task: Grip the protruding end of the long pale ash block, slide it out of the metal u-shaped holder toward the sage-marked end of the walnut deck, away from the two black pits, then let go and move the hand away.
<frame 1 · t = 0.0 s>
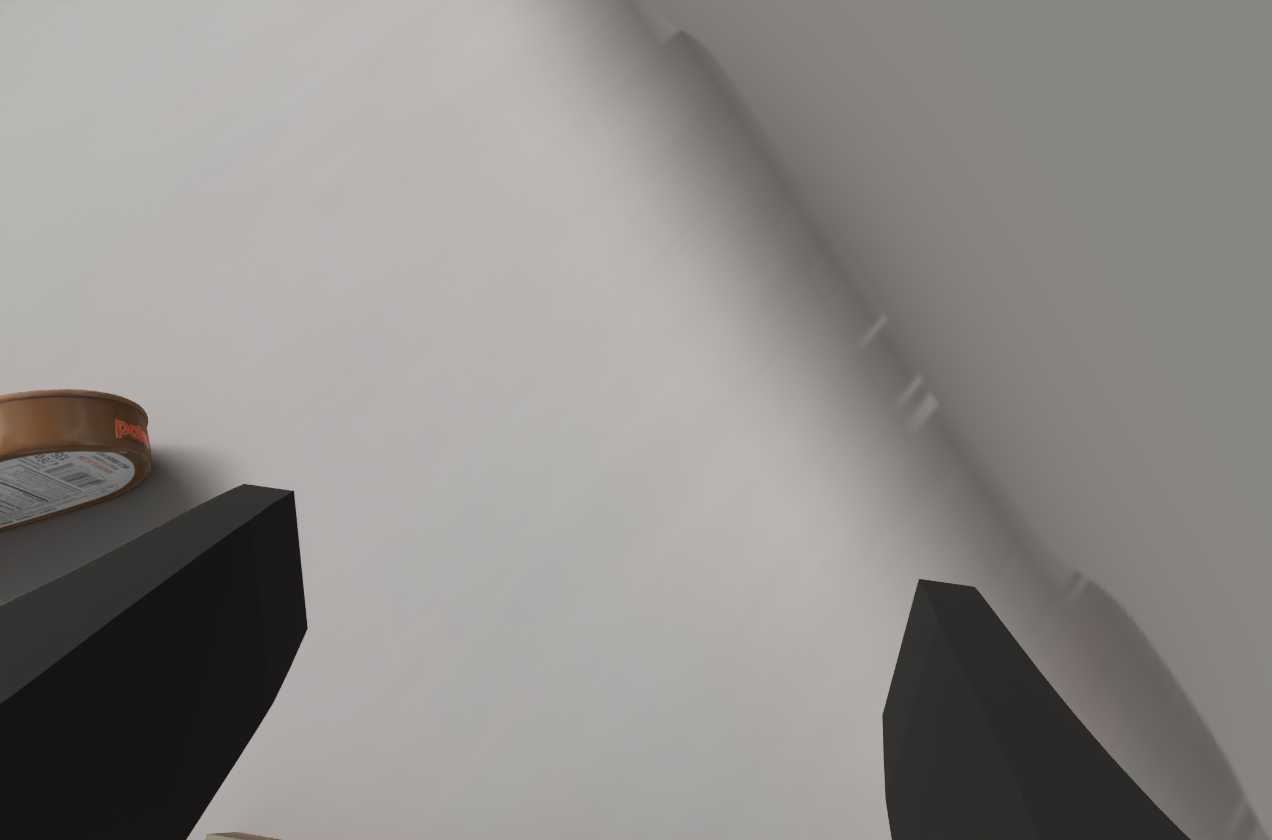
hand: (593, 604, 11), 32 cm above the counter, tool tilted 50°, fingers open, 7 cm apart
tin: (25, 507, 46), on the counter
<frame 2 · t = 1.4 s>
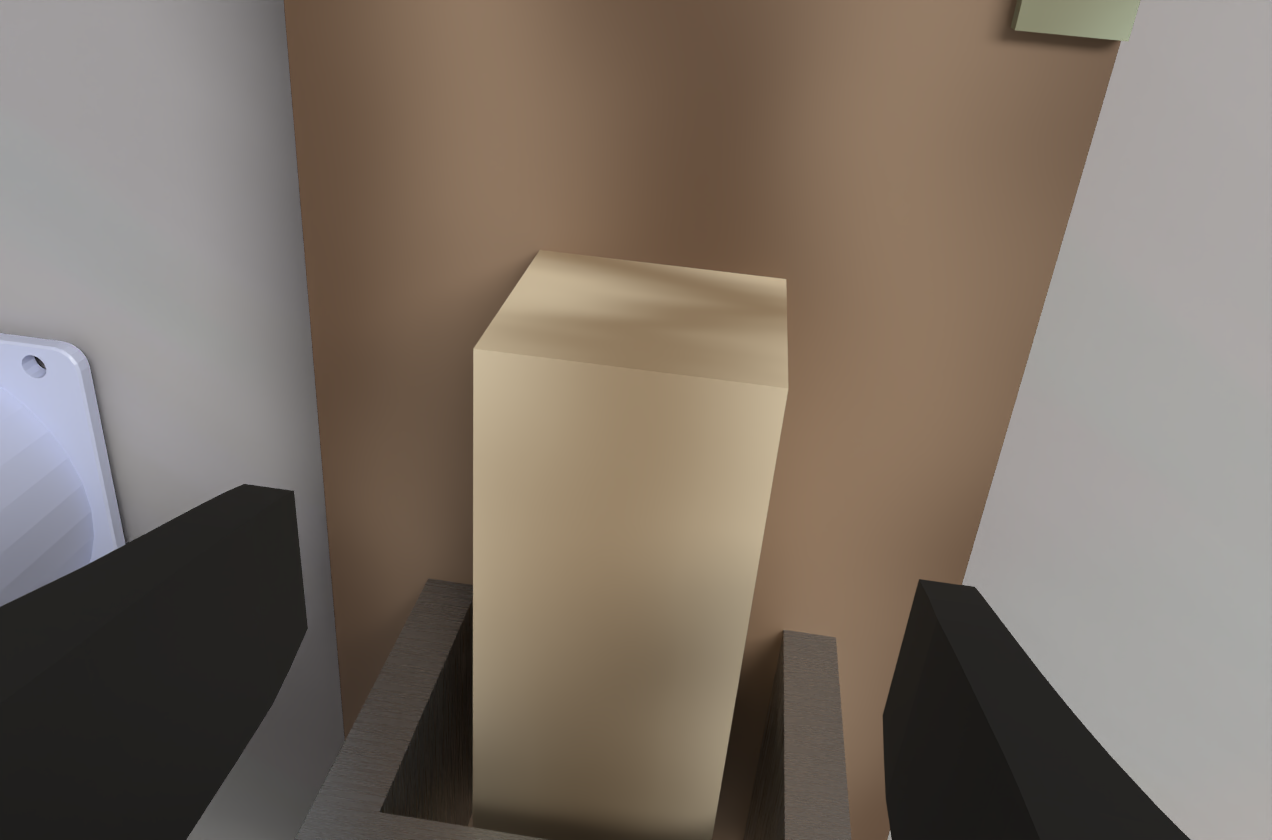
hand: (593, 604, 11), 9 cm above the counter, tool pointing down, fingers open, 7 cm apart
walnut deck: (640, 572, 22), on the counter
ash block: (625, 647, 20), point 2 cm above the counter, touching walnut deck
metal u-shaped holder: (633, 641, 23), resting on walnut deck
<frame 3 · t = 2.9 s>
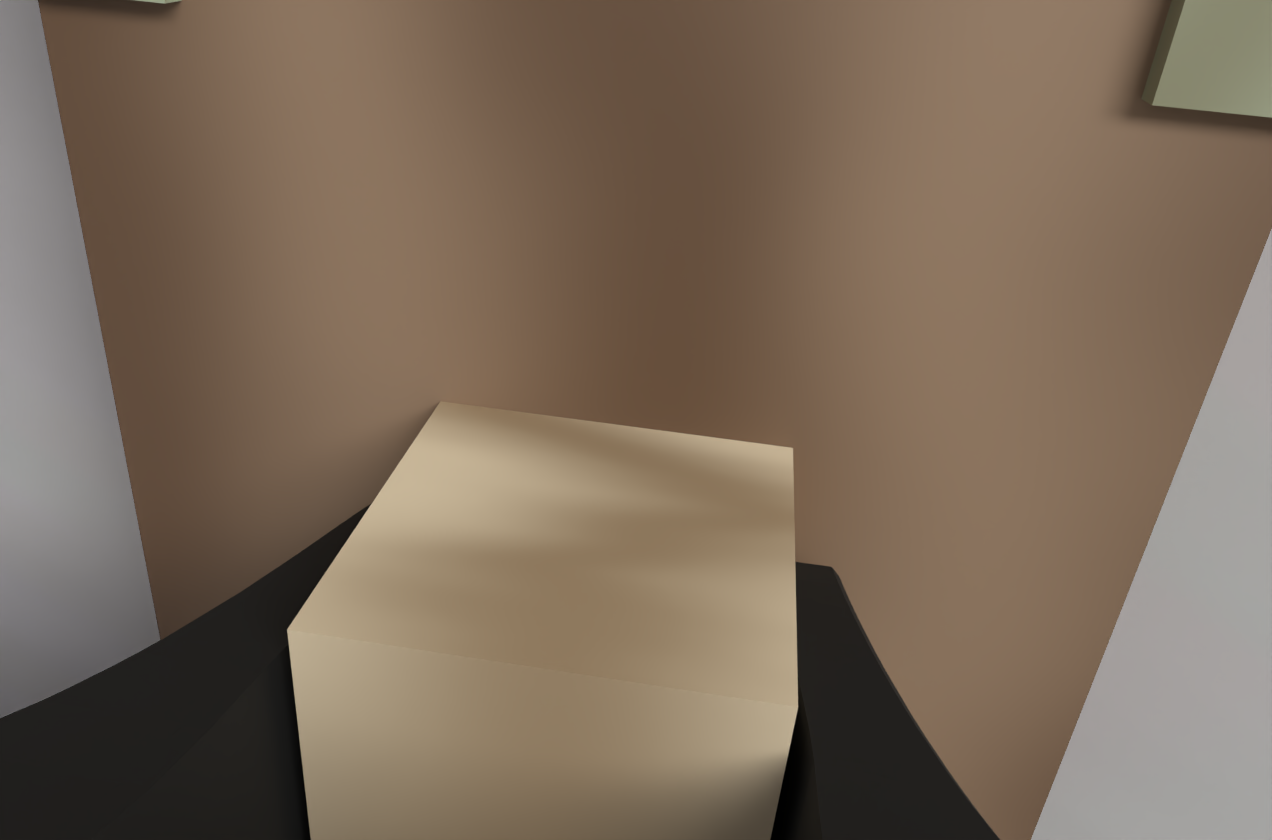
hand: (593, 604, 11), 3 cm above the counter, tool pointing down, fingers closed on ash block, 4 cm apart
walnut deck: (604, 762, 17), on the counter
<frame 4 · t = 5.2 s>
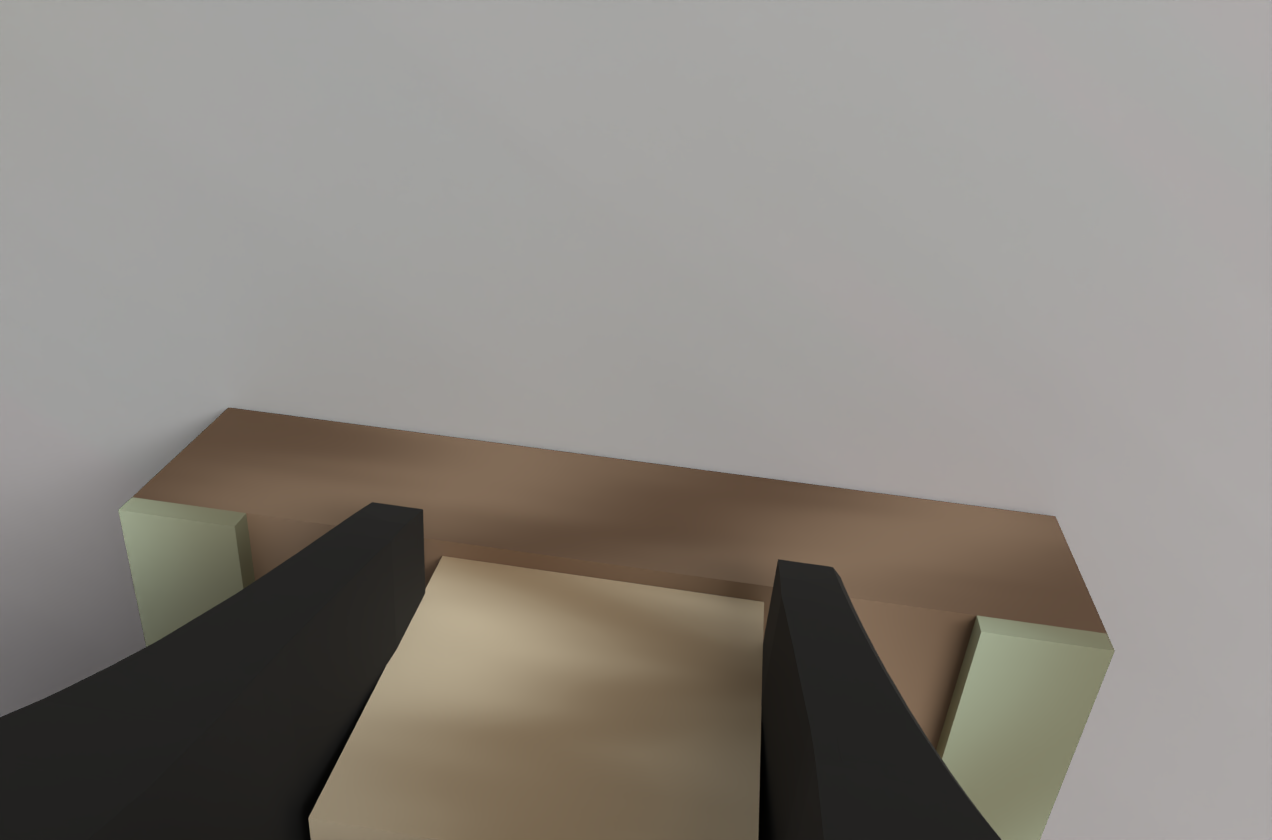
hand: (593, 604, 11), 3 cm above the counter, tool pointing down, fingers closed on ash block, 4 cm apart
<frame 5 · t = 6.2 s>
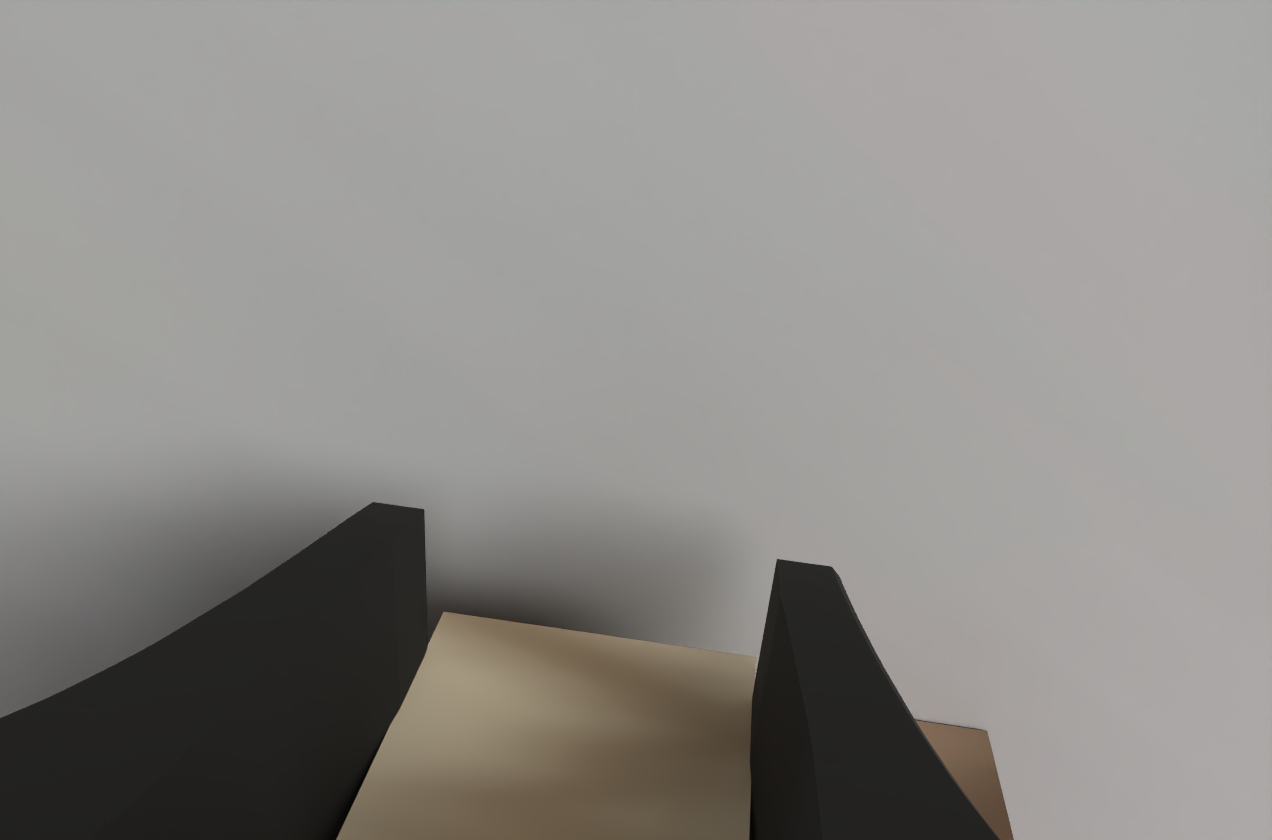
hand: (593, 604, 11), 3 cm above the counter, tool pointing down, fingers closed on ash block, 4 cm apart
when the fingers open (3 cm above the counter, at t = 7.2 s): ash block stays where it is, resting on walnut deck.
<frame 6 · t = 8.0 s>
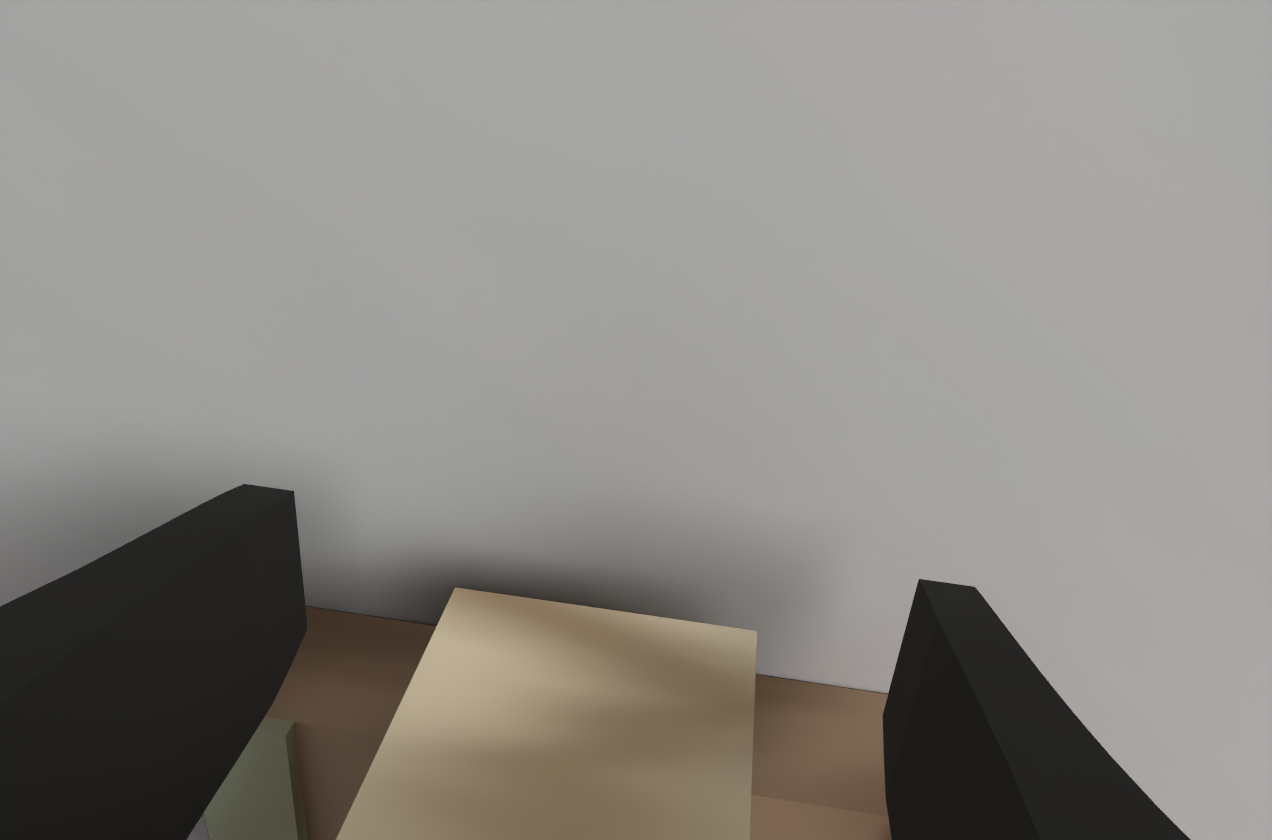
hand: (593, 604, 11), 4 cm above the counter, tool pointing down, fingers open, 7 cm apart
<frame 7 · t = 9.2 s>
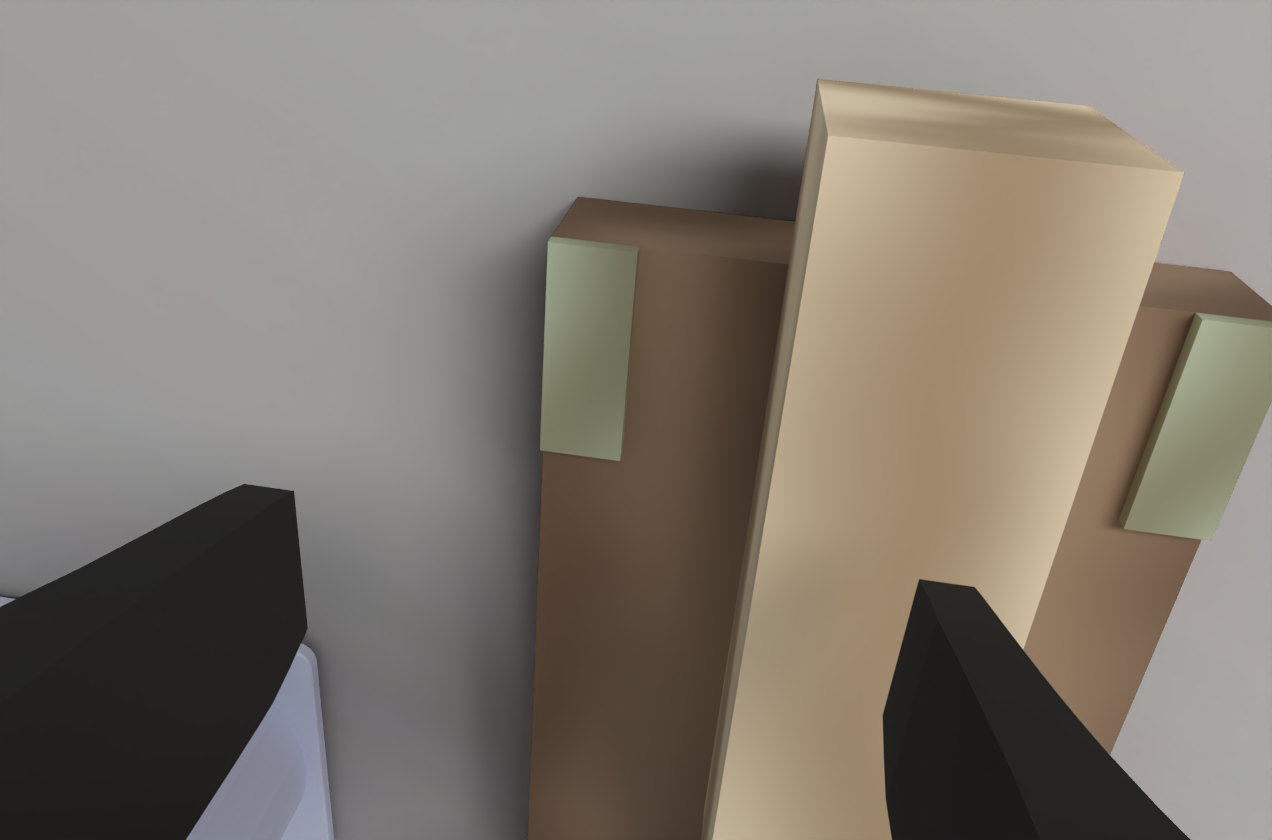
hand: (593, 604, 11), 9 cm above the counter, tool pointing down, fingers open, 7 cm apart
walnut deck: (772, 823, 26), on the counter
ash block: (855, 533, 19), point 2 cm above the counter, touching walnut deck
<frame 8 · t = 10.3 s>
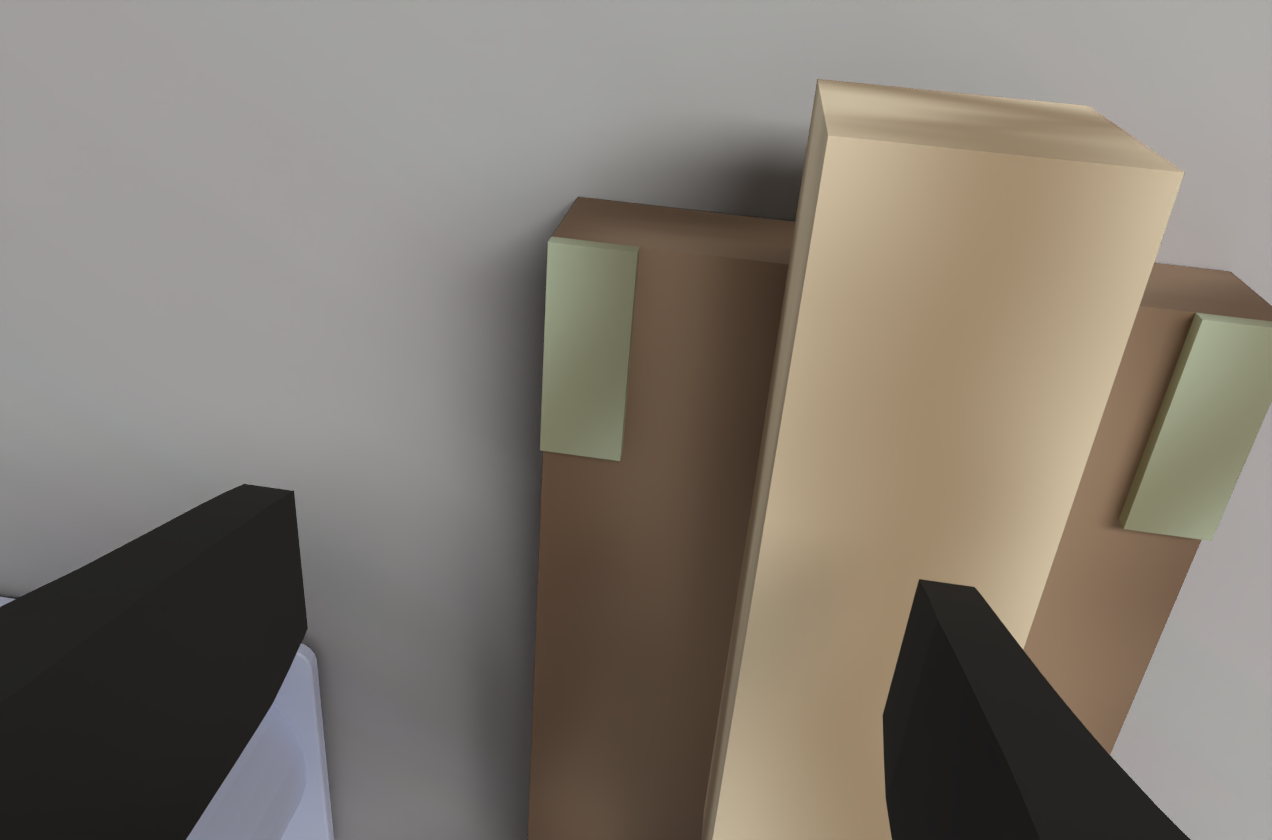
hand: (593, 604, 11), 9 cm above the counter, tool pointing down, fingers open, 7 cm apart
walnut deck: (772, 823, 26), on the counter
ash block: (855, 533, 19), point 2 cm above the counter, touching walnut deck
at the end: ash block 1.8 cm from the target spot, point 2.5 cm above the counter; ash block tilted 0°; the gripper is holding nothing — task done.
